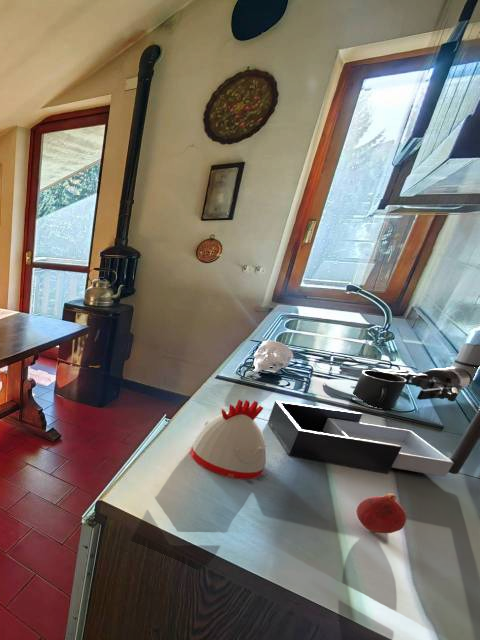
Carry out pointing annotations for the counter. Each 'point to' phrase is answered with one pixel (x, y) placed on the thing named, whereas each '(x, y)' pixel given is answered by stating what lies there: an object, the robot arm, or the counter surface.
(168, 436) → the counter surface
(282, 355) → the pale pink rounded lump
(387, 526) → the onion
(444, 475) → the white boxy piece
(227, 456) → the kitchen timer
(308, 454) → the black open box
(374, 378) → the mug
